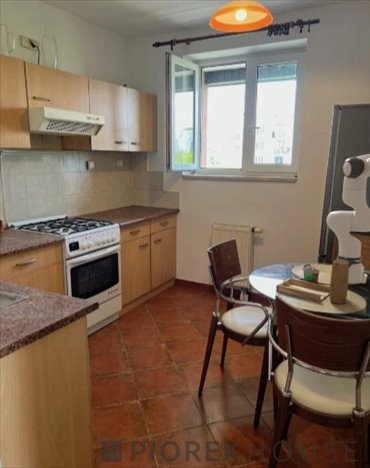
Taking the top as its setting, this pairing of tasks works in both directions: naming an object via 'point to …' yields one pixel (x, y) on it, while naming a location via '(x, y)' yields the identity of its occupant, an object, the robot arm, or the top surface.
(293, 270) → the top surface
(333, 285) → the block
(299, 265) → the top surface
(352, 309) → the top surface
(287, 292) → the wooden tray
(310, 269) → the food container
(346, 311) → the top surface
